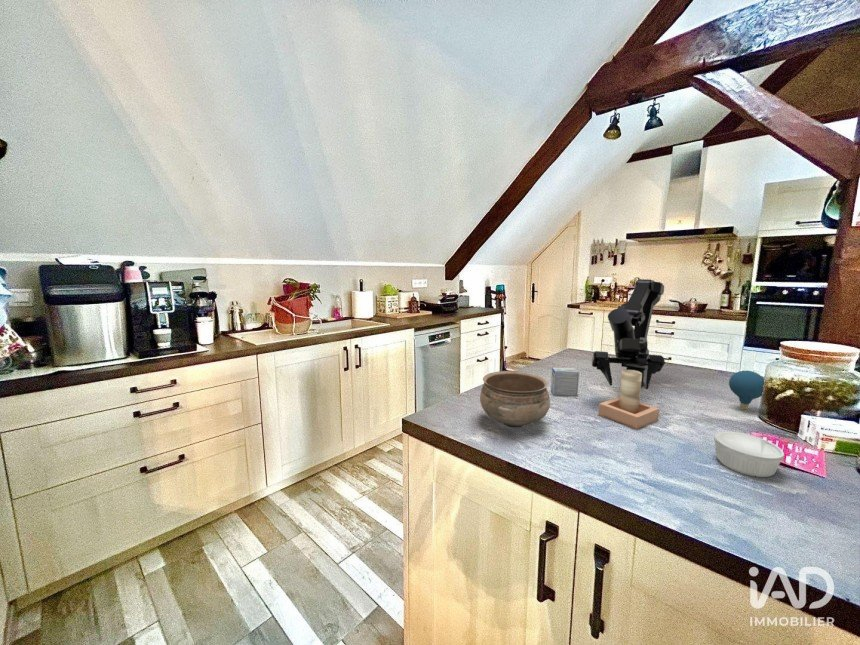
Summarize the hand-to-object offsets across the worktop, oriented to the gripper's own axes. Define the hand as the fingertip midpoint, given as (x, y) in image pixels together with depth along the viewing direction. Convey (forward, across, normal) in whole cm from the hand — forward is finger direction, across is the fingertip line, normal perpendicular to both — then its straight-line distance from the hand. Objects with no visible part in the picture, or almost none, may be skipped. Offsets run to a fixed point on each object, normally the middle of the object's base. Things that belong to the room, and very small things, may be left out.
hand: (628, 386), depth 102 cm
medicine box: (-2, -17, +14) cm, 22 cm away
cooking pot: (+17, -31, -6) cm, 36 cm away
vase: (+8, 0, +4) cm, 8 cm away
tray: (+8, 0, +4) cm, 9 cm away
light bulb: (-4, +34, +16) cm, 38 cm away
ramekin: (+22, +19, -9) cm, 30 cm away
